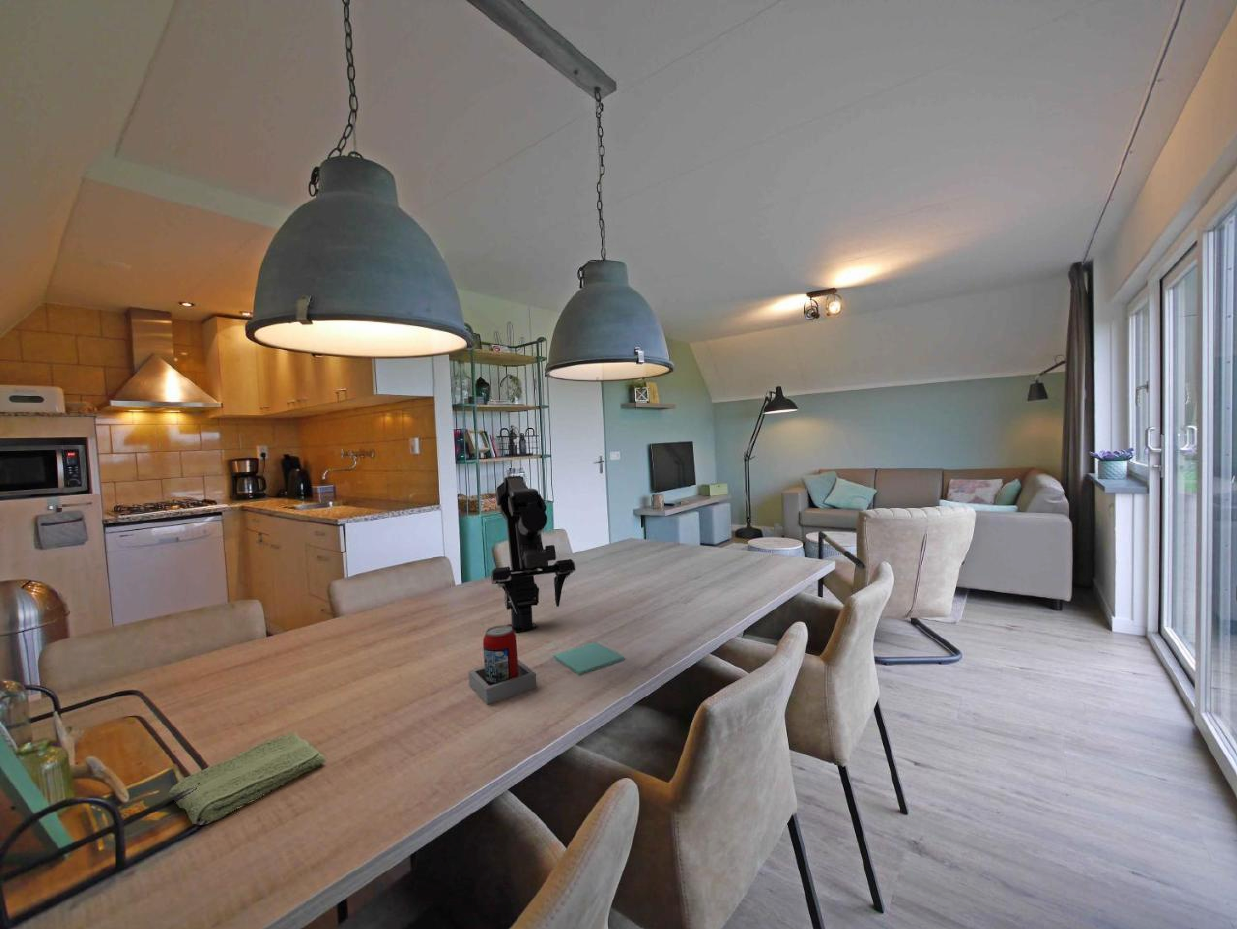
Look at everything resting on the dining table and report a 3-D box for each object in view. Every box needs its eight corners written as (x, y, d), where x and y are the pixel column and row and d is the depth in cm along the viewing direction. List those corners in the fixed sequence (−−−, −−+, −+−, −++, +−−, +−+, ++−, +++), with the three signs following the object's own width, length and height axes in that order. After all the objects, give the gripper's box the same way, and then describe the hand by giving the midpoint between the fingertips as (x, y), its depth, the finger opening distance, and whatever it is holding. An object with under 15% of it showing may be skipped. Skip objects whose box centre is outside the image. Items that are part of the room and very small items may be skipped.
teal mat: (553, 657, 122) (553, 655, 122) (596, 644, 129) (596, 641, 129) (579, 674, 112) (578, 672, 112) (624, 659, 119) (624, 656, 119)
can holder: (469, 685, 110) (468, 671, 110) (515, 670, 116) (515, 657, 116) (487, 704, 101) (486, 689, 101) (536, 687, 107) (535, 673, 107)
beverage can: (479, 690, 107) (475, 633, 107) (500, 677, 113) (497, 622, 113) (504, 696, 104) (501, 637, 104) (525, 682, 110) (522, 626, 110)
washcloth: (330, 765, 85) (329, 746, 85) (197, 836, 70) (195, 813, 70) (292, 742, 92) (291, 725, 92) (165, 802, 78) (163, 781, 77)
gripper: (491, 538, 112) (498, 612, 107) (575, 529, 118) (585, 599, 113) (488, 549, 122) (494, 617, 117) (566, 540, 128) (575, 605, 123)
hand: (537, 609), depth 117 cm, fingers open, 9 cm apart
